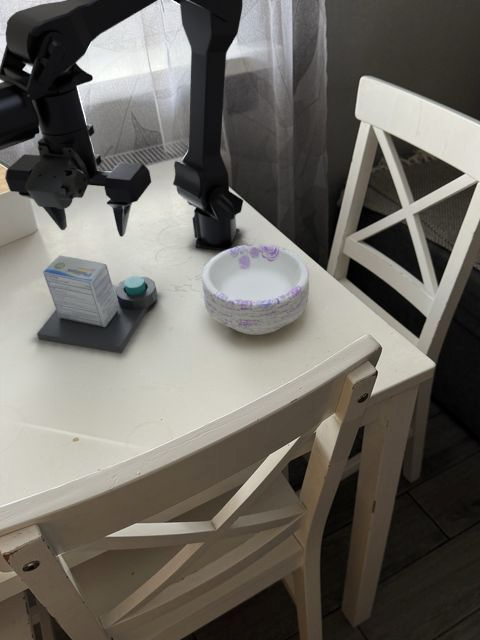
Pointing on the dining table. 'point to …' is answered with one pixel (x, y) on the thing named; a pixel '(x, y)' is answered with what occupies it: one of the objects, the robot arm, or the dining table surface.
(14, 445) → the dining table surface
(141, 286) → the tare button
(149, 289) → the scale
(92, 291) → the medicine box
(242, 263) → the paper bowls
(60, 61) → the robot arm
